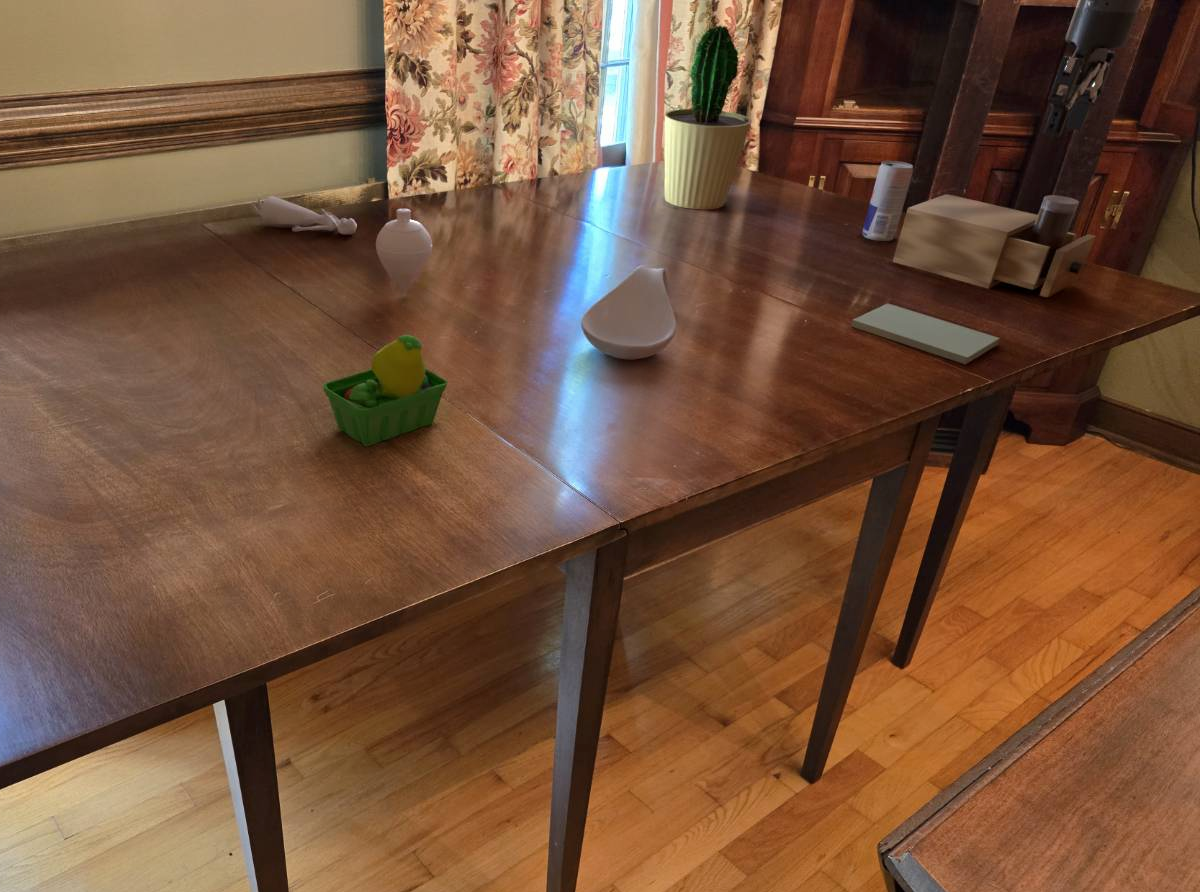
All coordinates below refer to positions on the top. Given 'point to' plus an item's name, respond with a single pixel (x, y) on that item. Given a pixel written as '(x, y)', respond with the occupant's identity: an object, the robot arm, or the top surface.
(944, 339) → the mat
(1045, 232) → the glass of dark soda
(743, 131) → the potted cactus
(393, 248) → the spinning top
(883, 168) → the energy drink
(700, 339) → the top surface
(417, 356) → the fruit basket
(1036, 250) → the drawer
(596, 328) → the spoon rest
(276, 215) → the woman figurine
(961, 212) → the cabinet
